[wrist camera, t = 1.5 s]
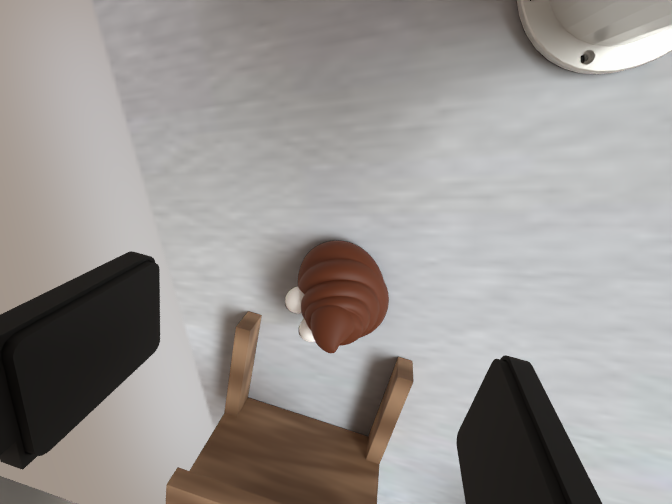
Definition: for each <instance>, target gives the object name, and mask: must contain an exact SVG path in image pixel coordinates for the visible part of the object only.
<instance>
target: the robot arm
mask: <svg viewBox="0 0 672 504" xmlns="http://www.w3.org/2000/svg"><path fill="white" fill-rule="evenodd" d="M517 5H518V11H519V17H520V20H521V22H522V25H523V28H524V30H525V33H526V35H527V36H528V38H529V39H530V41H531V42H532V44H533V45H534V47H535V48H536V49H537V50H538V51H539V52H540V53H541V54H542V55H543V56H544V57H545V58H546V59H547V60H549V61H551V62H552V63H554V64H556V65H558V66H560V67H561V68H564V69H567V70H571V71H574V72H578V73H586V74H605V73H613V72H619V71H623V70H627V69H631V68H636V67H638V66H641V65H643V64H646V63H648V62H651V61H654V60H656V59H658V58H660V57H661V56H663V55H665V54H667V53H668V52H670V51H672V0H533V1H529V0H517ZM581 55H582V56H584V58H585V60H584V62H583V63H581V61H580V57H581ZM159 293H160V289H159V266H158V264H156V263H155V260H154V258H152V257H150V256H147V255H143V254H139V253H136V252H128V253H126V254H124V255H122V256H120V257H117V258H115V259H114V260H112V261H109V262H107V263H105V264H103V265H101V266H99V267H97V268H95V269H93V270H91V271H89V272H87V273H85V274H83V275H81V276H79V277H77V278H75V279H73V280H71V281H68V282H66V283H64V284H62V285H60V286H58V287H56V288H54V289H52V290H50V291H48V292H46V293H44V294H42V295H40V296H38V297H36V298H34V299H32V300H30V301H28V302H26V303H23V304H21V305H19V306H17V307H15V308H13V309H11V310H9V311H7V312H5V313H3V314H1V315H0V460H1V462H3V463H6V464H9V465H11V466H14V467H17V468H20V469H24V468H25V467H26V466H27V465H28V464H29V463H30V462H32V461H33V460H34V459H35V458H36V457H37V456H41V455H44V454H45V453H47V452H48V451H50V450H51V449H52V448H53V447H54V446H55V445H56V444H57V443H58V442H59V441H61V439H63V438H64V437H65V436H66V435H67V434H68V433H69V432H70V431H71V430H72V429H73V428H74V427H75V426H77V425H78V424H79V423H80V422H81V421H82V420H83V419H84V418H85V417H86V416H87V415H88V414H89V413H90V412H91V411H93V410H94V408H96V407H97V406H98V405H99V404H100V403H101V402H102V401H103V400H104V399H105V398H106V397H107V396H108V395H110V394H111V393H112V392H113V391H114V390H115V389H116V388H117V387H118V386H119V385H120V384H121V383H122V382H123V381H125V380H126V379H127V377H129V376H130V375H131V374H132V373H133V372H134V371H135V370H136V369H137V368H138V367H139V366H140V365H141V364H143V363H144V362H145V361H146V360H147V359H148V358H149V357H150V356H151V355H152V354H153V353H154V352H155V351H156V349H157V348H158V346H159V342H160V294H159ZM457 450H458V456H459V463H460V469H461V476H462V482H463V489H464V495H465V501H466V504H602V502H601V500H600V498H599V496H598V494H597V492H596V490H595V488H594V486H593V484H592V483H591V481H590V479H589V477H588V475H587V473H586V471H585V469H584V467H583V465H582V463H581V461H580V459H579V457H578V455H577V453H576V451H575V449H574V447H573V445H572V443H571V441H570V439H569V437H568V435H567V433H566V431H565V429H564V427H563V425H562V423H561V422H560V420H559V418H558V416H557V414H556V412H555V410H554V408H553V406H552V404H551V402H550V400H549V398H548V396H547V394H546V392H545V390H544V388H543V386H542V384H541V382H540V380H539V378H538V376H537V374H536V372H535V370H534V368H533V366H532V365H531V363H530V362H528V361H524V360H521V359H517V358H513V357H510V356H503V357H502V358H501V359H500V360H499V359H495V360H493V362H492V364H491V366H490V368H489V370H488V372H487V374H486V376H485V378H484V380H483V382H482V384H481V386H480V388H479V390H478V392H477V394H476V396H475V398H474V401H473V403H472V405H471V407H470V409H469V411H468V413H467V415H466V417H465V419H464V421H463V423H462V425H461V427H460V429H459V432H458V435H457ZM0 504H77V503H74V502H72V501H69V500H66V499H63V498H60V497H58V496H55V495H52V494H49V493H46V492H44V491H41V490H38V489H35V488H32V487H29V486H27V485H24V484H21V483H18V482H15V481H13V480H10V479H7V478H4V477H1V476H0Z"/></svg>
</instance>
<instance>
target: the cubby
mask: <svg viewBox="0 0 672 504" xmlns="http://www.w3.org/2000/svg"><path fill="white" fill-rule="evenodd" d="M261 316H262V315H259V314H256V313H252V312H249V311H248V312H247V314H246V315H245V316H244V317H243V319H242V320H241V321H240V322H239V324H238V325H237V326H236V331H235V338H234V346H233V353H232V360H231V368H230V375H229V383H228V390H227V398H226V405H225V413H224V415H223V416H222V418H221V420H220V421H219V423H218V425H217V426H216V428H215V430H214V431H213V433H212V435H211V436H210V438H209V440H208V441H207V443H206V445H205V446H204V448H203V449H202V451H201V453H200V454H199V456H198V458H197V459H196V461H195V463H194V464H193V466H192V468H191V469H190V471H187V470H184V469H181V468H177V469H176V471H175V472H174V474H173V475H172V477H171V479H170V480H169V482H168V483H167V488H166V504H377V491H378V476H379V464H380V461H381V459H382V456H383V454H384V452H385V449H386V447H387V444H388V442H389V439H390V437H391V435H392V432H393V430H394V427H395V425H396V422H397V420H398V418H399V415H400V413H401V410H402V408H403V405H404V403H405V401H406V398H407V396H408V393H409V391H410V388H411V386H412V384H413V363H412V361H410V360H407V359H404V358H401V357H398V359H397V361H396V364H395V367H394V369H393V372H392V375H391V377H390V380H389V383H388V385H387V388H386V391H385V393H384V396H383V399H382V401H381V404H380V407H379V409H378V412H377V415H376V417H375V420H374V423H373V425H372V428H371V431H370V433H369V436H365V435H362V434H359V433H356V432H353V431H350V430H347V429H343V428H340V427H337V426H334V425H331V424H328V423H325V422H322V421H319V420H316V419H313V418H310V417H307V416H303V415H300V414H297V413H294V412H291V411H288V410H285V409H282V408H279V407H276V406H273V405H270V404H266V403H263V402H260V401H257V400H254V399H251V398H248V394H249V388H250V382H251V376H252V370H253V364H254V358H255V352H256V346H257V340H258V334H259V328H260V322H261Z"/></svg>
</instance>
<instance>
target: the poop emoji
mask: <svg viewBox="0 0 672 504" xmlns="http://www.w3.org/2000/svg"><path fill="white" fill-rule="evenodd" d="M388 303H389V297H388V291H387V287H386V284H385V282H384V280H383V277H382V274H381V271H380V269H379V267H378V265H377V264H376V262H375V261H374V259H373V258H372V257H371V256H370V255H369V254H368V253H367V252H366V251H365V250H363V249H362V248H361V247H359V246H357V245H355V244H353V243H350V242H346V241H329V242H325V243H322V244H320V245H318V246H316V247H315V248H313V249H312V250H311V251H310V252H309V253H308V254H307V255H306V257H305V258H304V260H303V262H302V264H301V267H300V270H299V274H298V286H297V287H294V288H292V289H291V290H290V291H289V292H288V294H287V295H286V298H285V306H286V307H287V309H289V310H290V311H291V312H293V313H302V315H303V317H304V319H303V321H302V322H301V324H300V326H299V335H300V336H301V337H302V339H304V340H305V341H307V342H316V343H317V345H318V346H319V347H320V348H321V349H322V350H324V351H326V352H328V353H334V352H336V350H337V349H338V347H339V345H346V344H350V343H352V342H354V341H356V340H357V339H358V338H360V337H363V336H365V335H368V334H369V333H371V332H372V331H374V330H375V329H376V328H377V327H378V326H379V325H380V324H381V322H382V321H383V319H384V317H385V315H386V312H387V309H388Z"/></svg>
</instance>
